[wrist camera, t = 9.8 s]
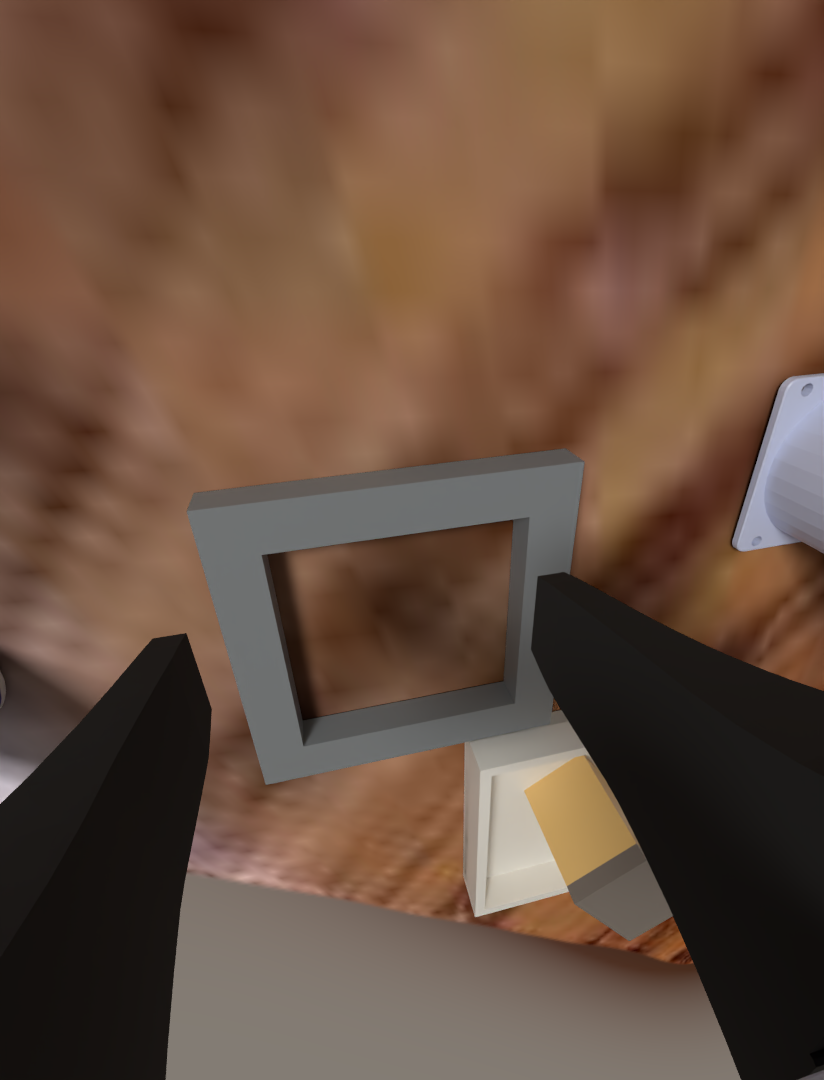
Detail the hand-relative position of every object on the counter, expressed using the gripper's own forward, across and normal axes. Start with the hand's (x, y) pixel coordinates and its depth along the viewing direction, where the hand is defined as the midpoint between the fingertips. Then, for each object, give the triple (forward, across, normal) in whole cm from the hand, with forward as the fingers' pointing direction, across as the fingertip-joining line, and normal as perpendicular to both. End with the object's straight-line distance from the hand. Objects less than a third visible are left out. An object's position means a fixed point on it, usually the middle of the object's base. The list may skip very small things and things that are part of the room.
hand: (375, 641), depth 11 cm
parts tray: (+9, -12, +22) cm, 27 cm away
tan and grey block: (+9, -12, +22) cm, 26 cm away
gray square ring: (+9, -2, +7) cm, 12 cm away
